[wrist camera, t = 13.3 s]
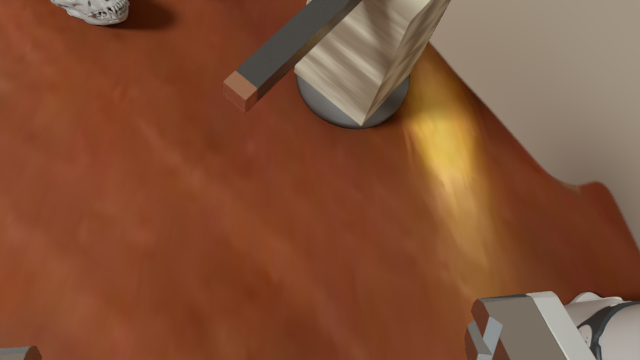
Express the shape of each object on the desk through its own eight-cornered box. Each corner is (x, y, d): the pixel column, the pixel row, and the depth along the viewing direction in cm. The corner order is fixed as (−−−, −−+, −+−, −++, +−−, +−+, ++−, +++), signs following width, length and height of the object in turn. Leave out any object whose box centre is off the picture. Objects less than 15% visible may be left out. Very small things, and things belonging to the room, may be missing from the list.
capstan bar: (360, -32, 57) (365, -49, 55) (379, -17, 57) (385, -34, 55) (223, 95, 51) (223, 81, 48) (245, 113, 50) (245, 100, 48)
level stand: (343, 12, 87) (390, -156, 60) (427, 77, 85) (513, -66, 58) (273, 79, 82) (290, -72, 55) (360, 151, 80) (422, 30, 53)
